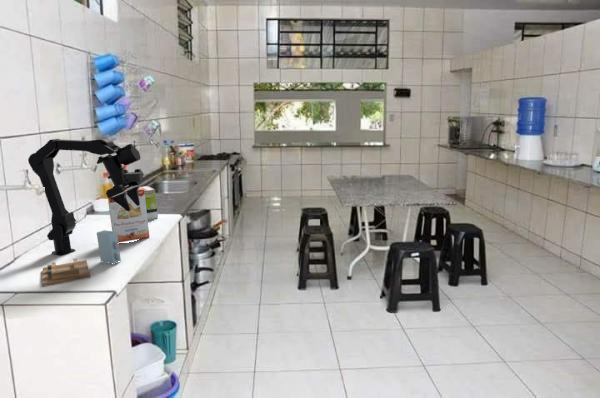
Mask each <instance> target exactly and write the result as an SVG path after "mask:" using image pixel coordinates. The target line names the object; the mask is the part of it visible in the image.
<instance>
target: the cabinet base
mask: <svg viewBox="0 0 600 398" xmlns="http://www.w3.org/2000/svg"><path fill="white" fill-rule="evenodd" d="M41 273H42V276H41V287H42V288H43V287H47V286H53V285H58V284H64V283H69V282H72V281H78V280H83V279H88V278H89V279H90V278H91V273H90V269H89V265H88V262H87V259H83V260H78V258H72V262H68V263H67V262H65V263H61V264H56V262H55V261H54V262H51V264H47V266H45V267H42V272H41Z"/></svg>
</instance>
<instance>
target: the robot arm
mask: <svg viewBox="0 0 600 398" xmlns="http://www.w3.org/2000/svg"><path fill="white" fill-rule="evenodd" d="M60 151H73V152H74V151H77V152H87V153H90V154H93V155H99V156H98V158H97V160H96V164H97V165H99V164H102V165H103V166H104V168H105V170H106V172H107V173H108V176H107V180H111V181H112V184H113V186H112V187H111V188H108V189H107V190H106V192H105V196H106V197H107V199H108V198H110V197H112V196H113V197H112V198H110V199H112V200H113V201H115V202H116V203H118V204H119V205H120V206H122V207H123V208H124V209H125V210H127V211H130V206H129V204H128V201H127V198H126V195H128V196H129V197H130V199H131V200H132V201H133V202H134V203H135V204H136V205H137V206H139V205H140V202H139V195H138V189H139V187H141V184H142V181H144V176H145V173H144V172H143V171H142V169H141V168H136V169H134V171H132V172H129V171H128V169H126V168H125V169H124V167H123V166H126V167H127V166H128V165H132V164H133V163H136V162H138V161H140V160H141V154H140V151H139V150H138V149H137V148H136V147H135V146H134V145H133V143H129V144H126V145H125V146H123V147H121V146H119V145H117V144H116V143H114V141H113V140H112V139H111V138H108V137H104V138H97V139H92V140H91V139H90V140H80V139H78V140H77V139H61V138H53V139H50V140H48V141H47V142H46V143H45V144H44V145H43V146H41V147H40V148H39V149H37V150H36V151H35V152H33V153H32V154H30V155H29V157H28V159H27V160H28V164H29V166H30V168H31V170H32V172H34V173H35V174H36V175H37V176H38V178H39V180H40V182H41V187H42V188H43V187H45V191H44V193H45V198H46V200H47V202H48V206H49V208H50V211H51V220H50V222H51V227H52V228H51V229H50V231H49V232H48V233H47V235H46V237H47V239H48V240H49V241H53V247H54V251H51V252H52V253H51V254H53V253H54V254H53V255H56V254H57V256H62V255H65V254H69V253H72V252H76V249H74V248H72V246H71V240H70V235H72V234H73V232H74V230H75V228H76V226H77V225H76V222H77V219H76V218H75V215H74V214H75V213H74V211H71V212H69V210H68V209H66V206H65V204H64V201H63V198H62V194H61V192H60V189H59V187H58V184H57V181H56V179H55V175H54V170H55V162H54V159H55V158H56V156H57V155H58V154H59V152H60ZM112 154H113V155H112ZM104 155H106V156H104ZM126 190H127V191H126ZM124 191H125V192H124Z"/></svg>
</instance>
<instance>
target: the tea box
mask: <svg viewBox="0 0 600 398" xmlns="http://www.w3.org/2000/svg"><path fill="white" fill-rule="evenodd" d="M139 188H142V189H144V194H145V202H146V211H147V220H148V221H150V220H155V219H158V218H159V213H158V204H157V195H156V194H157V193H156V189H155V188H153V187H151V186H148V185H147V186H146V185H145V186H140V187H139Z"/></svg>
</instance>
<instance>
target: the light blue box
mask: <svg viewBox="0 0 600 398" xmlns="http://www.w3.org/2000/svg"><path fill="white" fill-rule="evenodd" d="M96 237H97V243H98V250H99V258H100V262H101V261H103V262H102V263H104V262H109V263H113V264H112V265H115V264H114V263H116V262H118V261H121V262H122V258H121V251H120V243H118V237H117V232H113V231H112V230H106V229H104V230H100V231H97V232H96ZM109 263H108V264H109ZM116 264H117V263H116Z"/></svg>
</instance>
